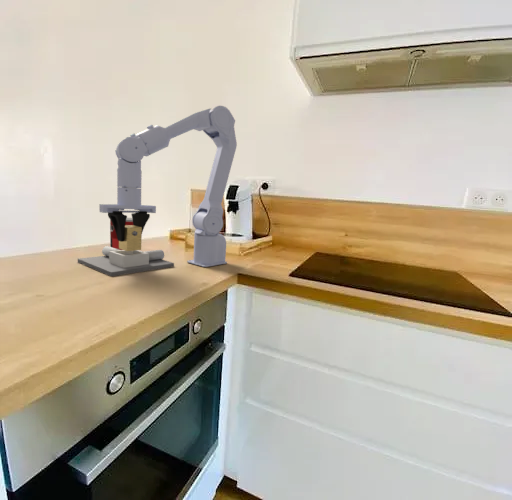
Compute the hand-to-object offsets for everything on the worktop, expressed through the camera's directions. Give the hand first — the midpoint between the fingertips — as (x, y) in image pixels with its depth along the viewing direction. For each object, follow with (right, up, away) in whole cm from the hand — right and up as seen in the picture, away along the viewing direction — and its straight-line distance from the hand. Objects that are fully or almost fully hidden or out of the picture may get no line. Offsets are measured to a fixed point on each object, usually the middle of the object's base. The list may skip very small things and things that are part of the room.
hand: (129, 240), depth 83 cm
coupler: (0, -2, 0) cm, 2 cm away
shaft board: (-2, -7, +4) cm, 8 cm away
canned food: (-10, -3, +20) cm, 22 cm away
